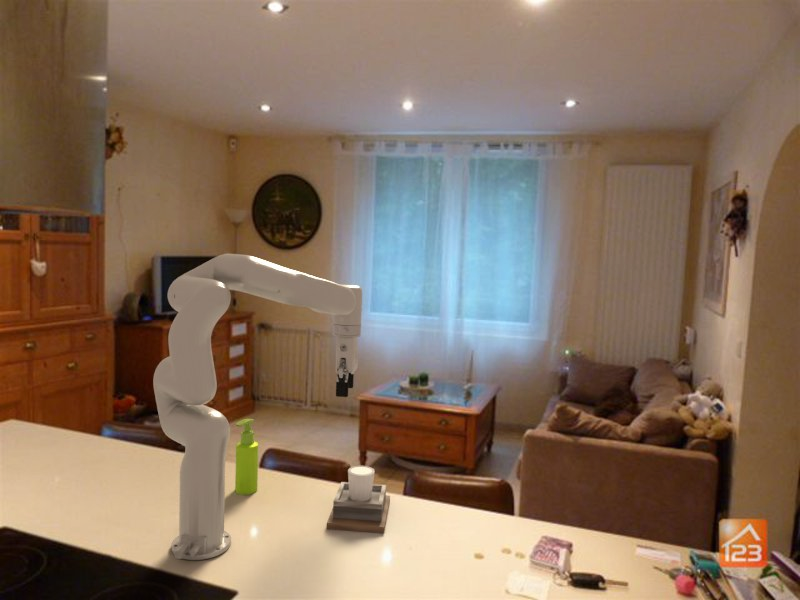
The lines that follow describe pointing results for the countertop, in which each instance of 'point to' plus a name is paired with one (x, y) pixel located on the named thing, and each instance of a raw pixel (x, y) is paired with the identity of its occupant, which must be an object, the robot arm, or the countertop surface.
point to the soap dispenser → (246, 460)
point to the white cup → (360, 482)
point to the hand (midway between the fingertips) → (344, 392)
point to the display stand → (359, 511)
